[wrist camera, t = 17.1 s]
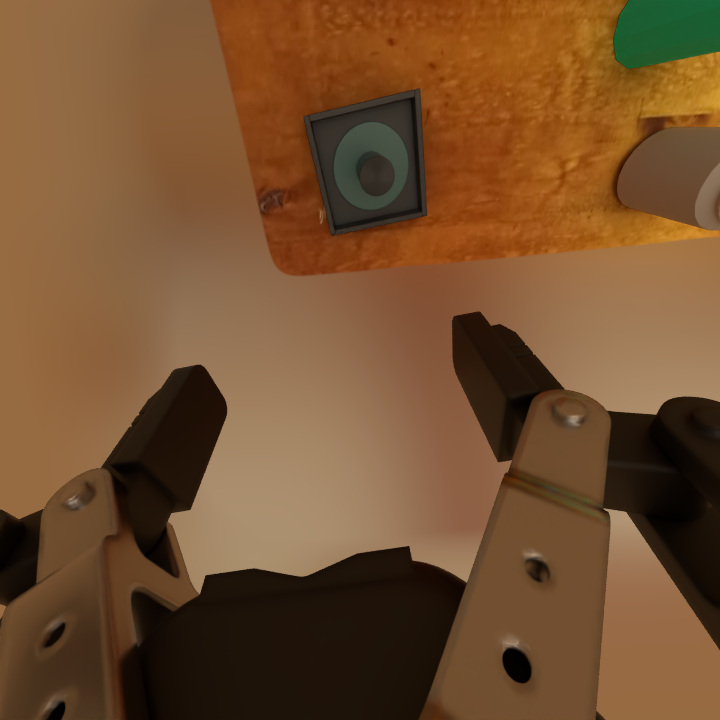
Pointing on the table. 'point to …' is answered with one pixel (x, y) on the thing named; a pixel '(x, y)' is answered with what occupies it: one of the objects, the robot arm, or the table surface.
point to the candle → (666, 31)
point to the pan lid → (371, 165)
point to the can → (675, 176)
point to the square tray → (324, 141)
